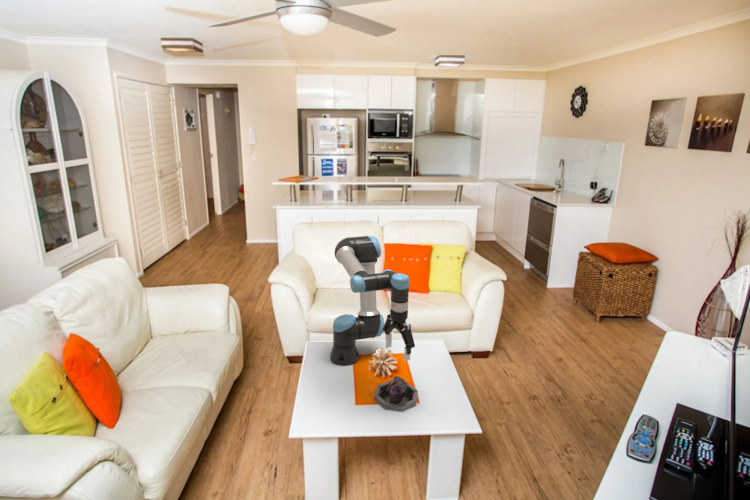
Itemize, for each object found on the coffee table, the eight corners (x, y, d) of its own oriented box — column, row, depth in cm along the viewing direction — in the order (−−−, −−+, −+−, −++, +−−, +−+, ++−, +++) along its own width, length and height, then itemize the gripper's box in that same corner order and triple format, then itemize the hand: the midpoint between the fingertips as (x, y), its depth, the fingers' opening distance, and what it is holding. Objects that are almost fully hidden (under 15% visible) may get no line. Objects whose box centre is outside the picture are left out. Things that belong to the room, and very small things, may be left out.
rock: (386, 406, 198) (408, 406, 197) (386, 391, 194) (409, 391, 194) (386, 387, 208) (407, 387, 208) (386, 373, 205) (407, 373, 204)
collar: (367, 394, 205) (367, 389, 204) (399, 381, 216) (400, 376, 215) (391, 416, 190) (391, 411, 189) (425, 401, 201) (425, 396, 200)
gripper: (375, 301, 198) (374, 344, 204) (410, 322, 179) (408, 368, 185) (389, 298, 203) (387, 339, 209) (424, 317, 183) (422, 363, 189)
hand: (397, 353), depth 197 cm, fingers open, 13 cm apart
